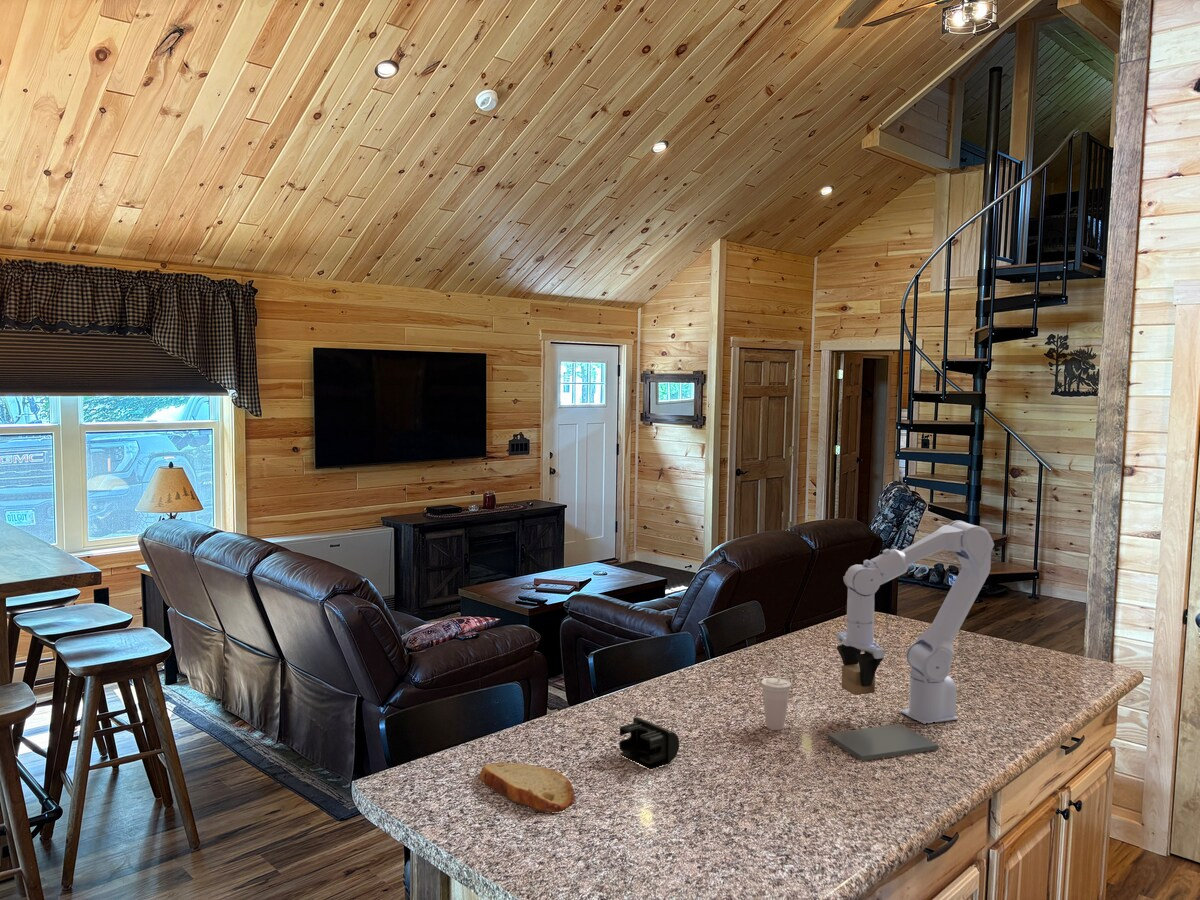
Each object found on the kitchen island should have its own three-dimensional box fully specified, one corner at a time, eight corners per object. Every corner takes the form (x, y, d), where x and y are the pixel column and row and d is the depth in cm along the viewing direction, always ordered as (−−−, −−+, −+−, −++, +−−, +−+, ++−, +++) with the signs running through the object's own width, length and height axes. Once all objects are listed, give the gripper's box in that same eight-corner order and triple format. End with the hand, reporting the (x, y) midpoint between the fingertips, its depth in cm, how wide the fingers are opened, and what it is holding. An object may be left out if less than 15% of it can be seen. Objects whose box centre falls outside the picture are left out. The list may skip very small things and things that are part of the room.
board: (899, 728, 192) (900, 723, 192) (938, 749, 180) (938, 745, 180) (827, 738, 186) (827, 733, 186) (862, 761, 174) (862, 756, 174)
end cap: (679, 762, 173) (680, 728, 173) (652, 772, 169) (653, 737, 168) (644, 746, 181) (644, 713, 180) (617, 755, 176) (618, 721, 176)
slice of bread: (480, 770, 169) (480, 751, 169) (576, 771, 170) (576, 752, 169) (467, 816, 152) (467, 794, 151) (574, 817, 152) (574, 795, 151)
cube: (860, 685, 200) (861, 663, 200) (874, 692, 196) (875, 670, 195) (841, 687, 199) (841, 665, 198) (855, 695, 194) (855, 672, 194)
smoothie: (790, 733, 188) (792, 668, 187) (759, 731, 189) (760, 665, 188) (790, 722, 194) (791, 659, 193) (760, 720, 196) (761, 656, 195)
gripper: (825, 614, 202) (824, 673, 202) (864, 630, 188) (863, 694, 189) (852, 611, 204) (851, 670, 205) (893, 627, 190) (891, 690, 191)
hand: (858, 681), depth 197 cm, fingers closed on cube, 5 cm apart
